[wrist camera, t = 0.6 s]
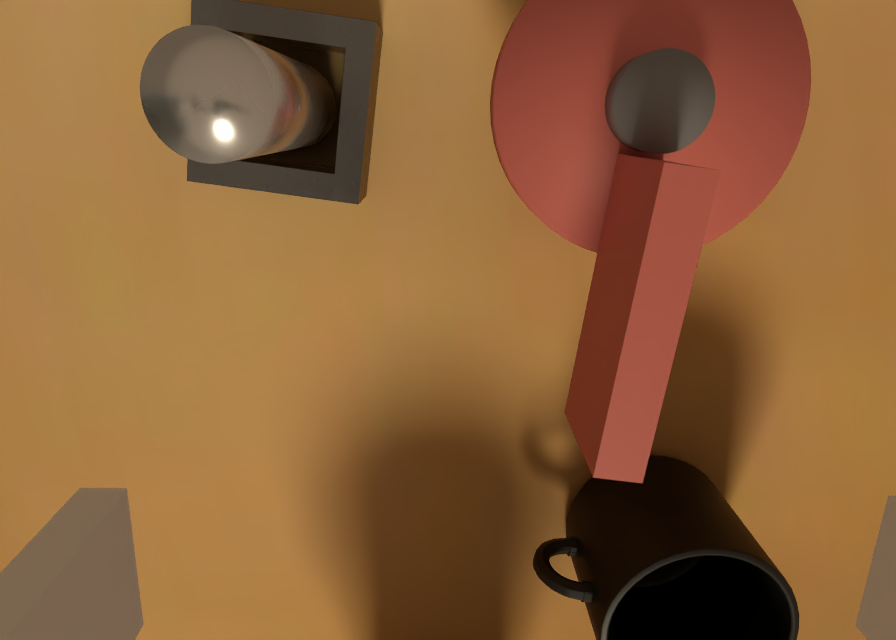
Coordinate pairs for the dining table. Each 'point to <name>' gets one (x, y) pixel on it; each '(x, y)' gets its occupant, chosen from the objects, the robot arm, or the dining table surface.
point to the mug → (668, 562)
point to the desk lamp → (644, 171)
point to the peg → (231, 97)
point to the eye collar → (356, 111)
